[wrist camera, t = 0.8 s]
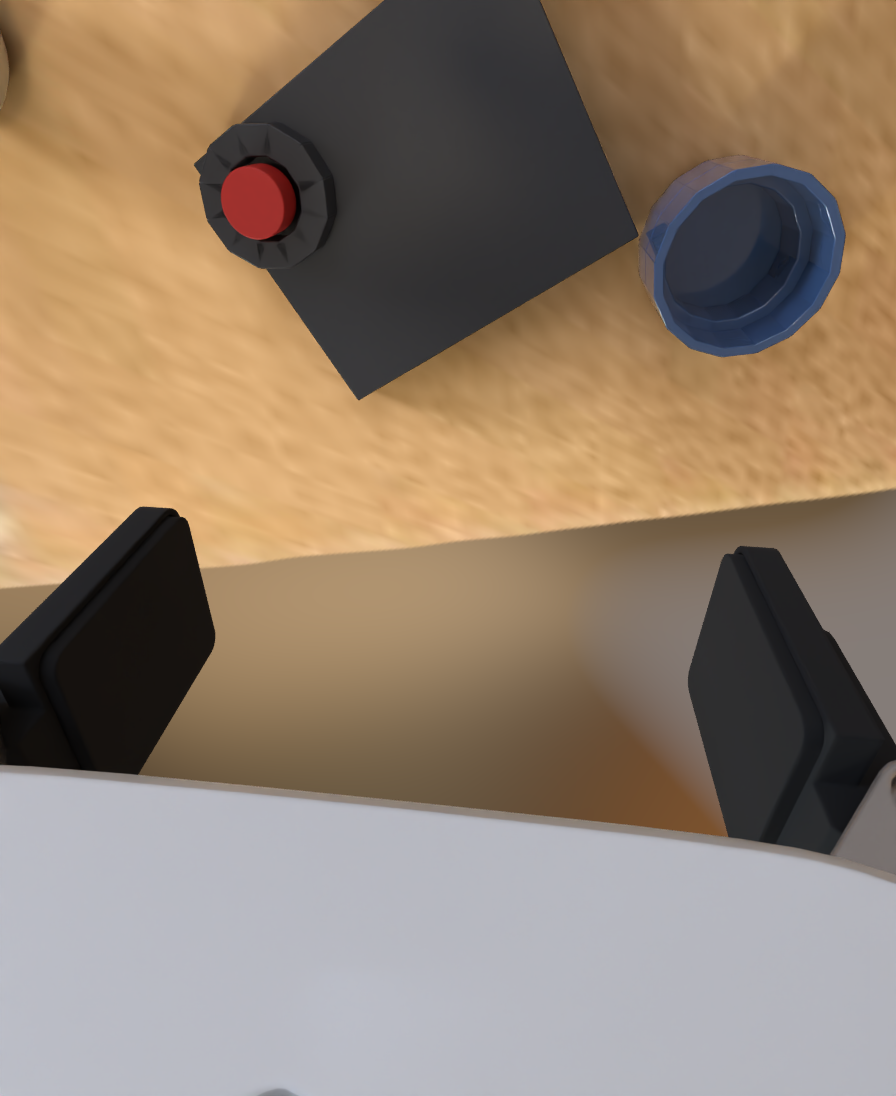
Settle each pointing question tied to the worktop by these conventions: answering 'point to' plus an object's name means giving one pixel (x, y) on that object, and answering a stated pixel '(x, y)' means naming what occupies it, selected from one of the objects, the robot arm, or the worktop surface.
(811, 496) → the worktop surface
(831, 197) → the cup
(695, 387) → the worktop surface
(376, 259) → the scale
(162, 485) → the worktop surface
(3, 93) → the silver bottle
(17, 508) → the worktop surface
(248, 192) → the button
